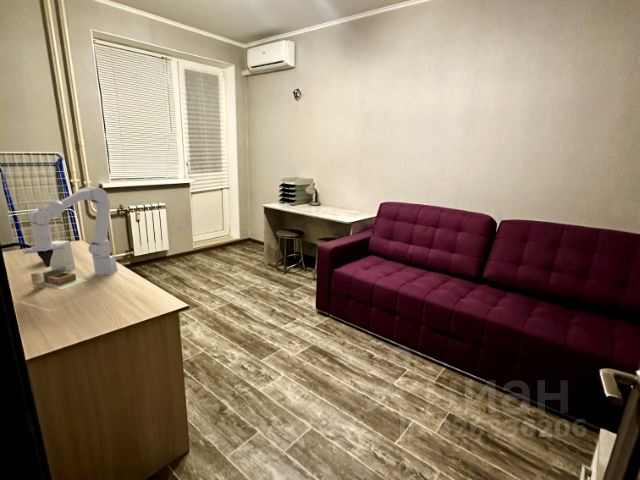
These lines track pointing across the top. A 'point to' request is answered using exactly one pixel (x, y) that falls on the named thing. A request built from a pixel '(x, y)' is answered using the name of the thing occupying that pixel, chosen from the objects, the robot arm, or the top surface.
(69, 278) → the brown wooden square frame
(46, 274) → the wall
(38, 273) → the dowel
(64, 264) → the skincare box
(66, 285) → the board
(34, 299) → the top surface
